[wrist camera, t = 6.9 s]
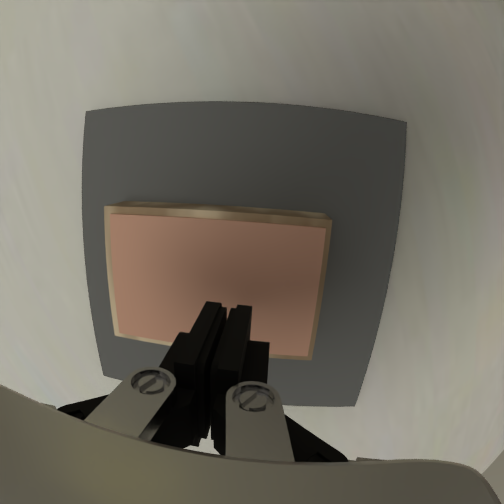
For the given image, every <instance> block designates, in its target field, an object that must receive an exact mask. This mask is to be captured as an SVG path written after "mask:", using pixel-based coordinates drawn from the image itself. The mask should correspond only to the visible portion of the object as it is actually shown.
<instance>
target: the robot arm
mask: <svg viewBox="0 0 504 504" xmlns="http://www.w3.org/2000/svg"><path fill="white" fill-rule="evenodd" d="M251 319H252V306H248V305H238V304H237V307H236V308H231V309H230V312H229V315H228V318H227V307H222V303H219V302H210V301H206V303H205V304H204V306H203V308H202V310H201V312H200V314H199V315H198V317H197V319H196V321H195V323H194V325H193V327H192V328H191V330H190V332H189V333H186V332H179V333H178V335H177V337H176V338H175V340H174V342H173V343H172V345H171V347H170V348H169V350H168V352H167V354H166V355H165V357H164V359H163V360H162V362H161V364H160V365H159V367H143V368H139V369H137V370H134V371H133V372H132V373H130V374H129V375H128V376H127V377H126V378H125V379H124V380H123V381H122V382H121V383H120V384H119V385H118V386H117V387H116V388H115V389H114V390H113V391H112V392H111V393H110V394H109V395H105V396H101V397H97V398H93V399H89V400H85V401H81V402H77V403H73V404H69V405H65V406H62V407H60V408H58V409H56V407H55V406H53V405H48V404H43V403H39V402H37V401H35V400H33V399H31V398H28V397H26V396H24V395H22V394H20V393H18V392H16V391H14V390H11V389H9V388H7V387H5V386H3V385H1V384H0V504H501V502H500V500H499V498H498V497H497V495H496V493H495V492H494V490H493V489H492V487H491V486H490V484H489V483H488V481H487V480H486V479H485V478H484V477H483V476H482V475H481V474H480V473H479V472H478V471H477V470H475V469H473V468H471V467H469V466H466V465H463V464H460V463H455V462H449V461H441V460H427V459H395V460H380V459H369V458H360V457H357V459H356V461H354V460H347V458H346V457H345V456H344V455H343V454H342V453H341V452H339V451H338V450H336V449H335V448H333V447H332V446H330V445H329V444H327V443H326V442H324V441H323V440H321V439H320V438H318V437H317V436H315V435H314V434H312V433H311V432H309V431H308V430H306V429H305V428H303V427H302V426H301V425H299V424H298V423H296V422H295V421H293V420H292V419H291V418H289V417H288V416H286V415H285V414H284V410H283V406H282V401H281V397H280V395H279V393H278V391H277V390H276V389H274V388H273V387H272V386H270V385H268V384H267V379H268V364H269V348H270V342H263V341H252V340H250V332H251ZM210 425H211V440H214V448H215V449H216V450H217V451H218V452H219V454H220V455H217V454H210V453H204V452H198V451H193V450H188V449H183V448H185V447H188V446H190V445H192V446H197V447H199V443H200V440H201V438H204V439H207V436H208V433H209V429H210Z"/></svg>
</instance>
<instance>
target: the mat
mask: <svg viewBox="0 0 504 504" xmlns="http://www.w3.org/2000/svg"><path fill="white" fill-rule="evenodd" d="M406 127H407V122H404V121H399V120H394V119H389V118H384V117H379V116H374V115H368V114H362V113H356V112H350V111H343V110H336V109H328V108H320V107H311V106H301V105H290V104H277V103H259V102H223V101H209V102H174V103H157V104H144V105H133V106H123V107H114V108H106V109H99V110H92V111H86V115H85V126H84V140H83V159H82V220H83V240H84V254H85V265H86V275H87V284H88V292H89V300H90V307H91V313H92V320H93V326H94V331H95V337H96V342H97V347H98V352H99V357H100V362H101V366H102V370H103V375H104V376H107V377H111V378H115V379H119V380H124V379H125V378H126V377H127V376H128V375H129V374H130V373H132V372H133V371H134V370H137V369H139V368H143V367H159V365H160V364H161V362H162V360H163V359H164V357H165V355H166V354H167V352H168V350H169V348H170V347H171V346H168V345H162V344H156V343H151V342H145V341H140V340H135V339H129V338H124V337H119V336H115V334H114V327H113V320H112V312H111V304H110V296H109V286H108V275H107V263H106V248H105V225H104V206H106V205H110V204H114V203H119V202H123V201H139V202H167V203H189V204H208V205H225V206H241V207H255V208H269V209H281V210H293V211H305V212H316V213H325V214H326V215H327V216H328V217H329V218H330V219H332V227H331V236H330V245H329V253H328V260H327V268H326V275H325V282H324V289H323V296H322V302H321V309H320V315H319V321H318V327H317V333H316V338H315V344H314V349H313V355H312V360H294V359H279V358H269V364H268V379H267V384H268V385H270V386H272V387H273V388H274V389H276V390H277V391H278V393H279V395H280V397H281V401H282V405H293V406H327V407H344V406H355V404H356V401H357V398H358V395H359V392H360V389H361V386H362V383H363V380H364V377H365V374H366V370H367V367H368V364H369V360H370V357H371V353H372V350H373V346H374V342H375V339H376V335H377V331H378V327H379V323H380V319H381V315H382V311H383V306H384V302H385V297H386V293H387V288H388V283H389V278H390V273H391V267H392V262H393V256H394V250H395V244H396V238H397V231H398V224H399V216H400V208H401V199H402V190H403V179H404V166H405V151H406Z"/></svg>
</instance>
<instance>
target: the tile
mask: <svg viewBox="0 0 504 504" xmlns="http://www.w3.org/2000/svg"><path fill="white" fill-rule="evenodd" d="M104 225H105V248H106V263H107V275H108V286H109V296H110V304H111V312H112V320H113V327H114V334H115V336H119V337H124V338H129V339H135V340H140V341H145V342H151V343H156V344H162V345H168V346H171V345H172V343H173V342H174V340H175V338H176V337H177V335H178V333H179V332H186V333H189V332H190V330H191V328H192V327H193V325H194V323H195V321H196V319H197V317H198V315H199V314H200V312H201V310H202V308H203V306H204V304H205V303H206V301H210V302H219V303H222V307H227V318H228V315H229V312H230V309H231V308H236V307H237V304H238V305H248V306H252V319H251V332H250V340H252V341H263V342H270V348H269V358H279V359H294V360H312V355H313V349H314V344H315V338H316V333H317V327H318V321H319V315H320V309H321V302H322V296H323V289H324V282H325V275H326V268H327V260H328V253H329V245H330V236H331V227H332V219H330V218H329V217H328V216H327V215H326V214H325V213H316V212H305V211H293V210H281V209H269V208H255V207H241V206H225V205H208V204H189V203H167V202H139V201H123V202H119V203H114V204H110V205H106V206H104Z"/></svg>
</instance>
